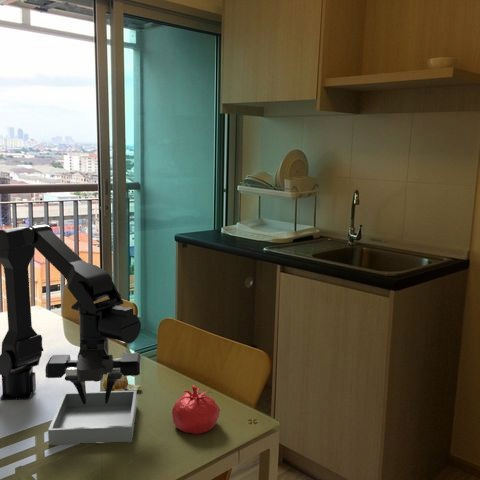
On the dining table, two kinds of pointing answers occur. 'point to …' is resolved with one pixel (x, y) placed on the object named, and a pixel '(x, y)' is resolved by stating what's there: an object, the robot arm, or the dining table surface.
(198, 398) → the pomegranate
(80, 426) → the serving bin
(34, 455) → the dining table surface
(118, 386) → the fruit
